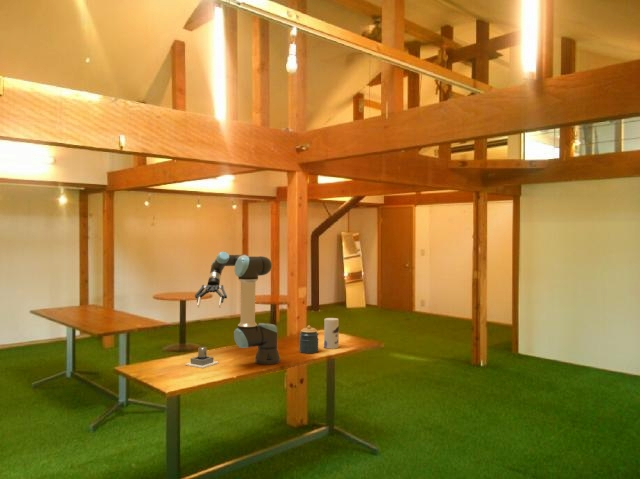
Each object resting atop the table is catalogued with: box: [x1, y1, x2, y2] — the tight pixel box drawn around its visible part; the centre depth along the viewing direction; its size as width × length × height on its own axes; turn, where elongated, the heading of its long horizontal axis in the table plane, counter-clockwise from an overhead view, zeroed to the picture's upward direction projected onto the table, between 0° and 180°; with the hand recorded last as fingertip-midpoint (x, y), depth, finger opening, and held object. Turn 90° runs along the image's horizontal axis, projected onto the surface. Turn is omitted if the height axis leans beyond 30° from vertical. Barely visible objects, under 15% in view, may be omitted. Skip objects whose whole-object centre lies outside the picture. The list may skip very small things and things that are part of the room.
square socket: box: [184, 355, 220, 369], centre depth 286 cm, size 14×14×4 cm
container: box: [323, 317, 340, 350], centre depth 333 cm, size 10×10×20 cm
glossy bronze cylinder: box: [197, 346, 208, 360], centre depth 286 cm, size 5×5×9 cm
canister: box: [298, 324, 319, 355], centre depth 320 cm, size 13×13×18 cm
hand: (208, 306), depth 301 cm, fingers open, 13 cm apart
